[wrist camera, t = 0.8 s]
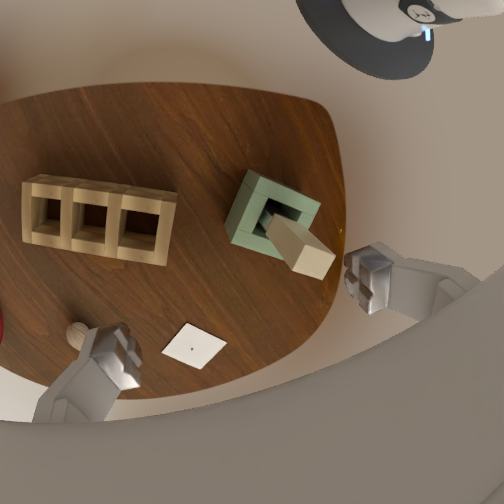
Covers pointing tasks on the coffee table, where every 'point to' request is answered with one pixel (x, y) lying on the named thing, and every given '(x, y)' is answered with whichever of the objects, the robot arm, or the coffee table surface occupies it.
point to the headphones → (1, 327)
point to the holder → (252, 203)
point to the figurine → (76, 334)
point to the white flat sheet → (193, 346)
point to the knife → (295, 243)
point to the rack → (94, 237)
